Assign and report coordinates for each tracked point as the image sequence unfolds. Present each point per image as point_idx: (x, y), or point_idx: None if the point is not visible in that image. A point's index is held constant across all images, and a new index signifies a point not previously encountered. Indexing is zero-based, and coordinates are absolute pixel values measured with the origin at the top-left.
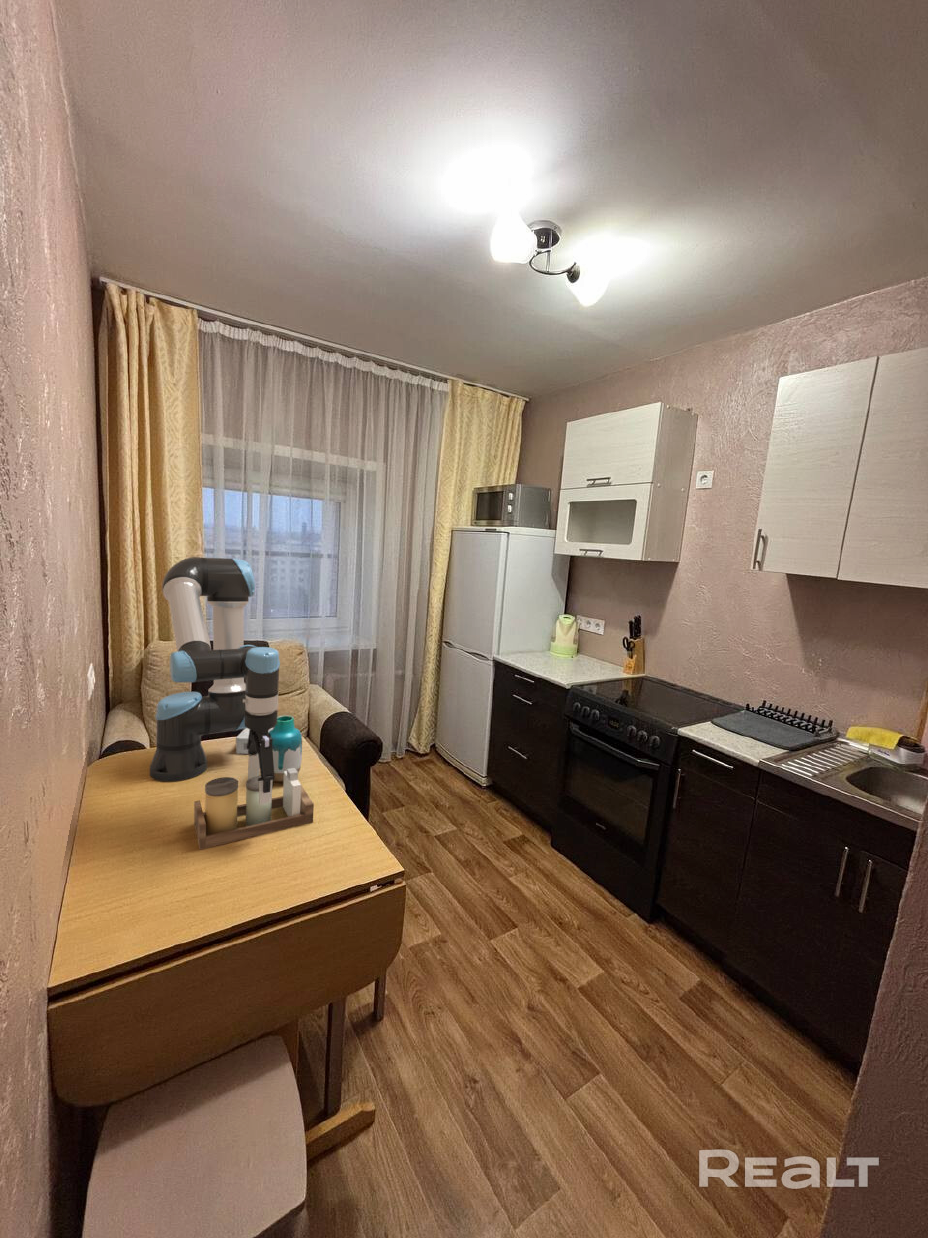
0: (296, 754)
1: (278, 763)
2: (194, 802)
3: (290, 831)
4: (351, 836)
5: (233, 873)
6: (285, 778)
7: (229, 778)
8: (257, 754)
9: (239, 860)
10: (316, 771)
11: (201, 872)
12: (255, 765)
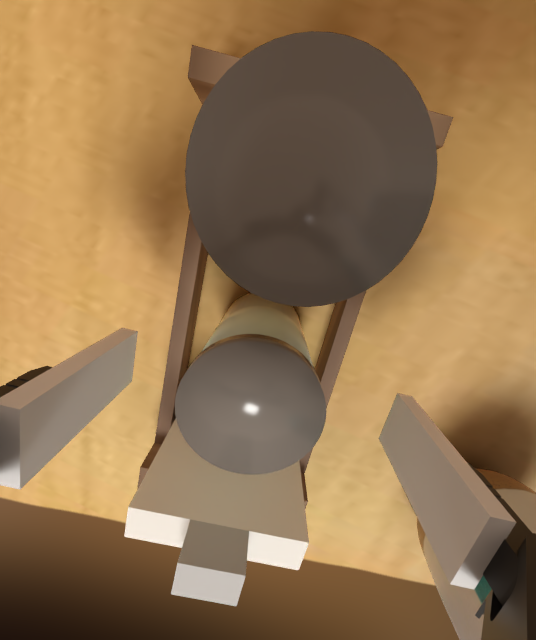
0: (460, 636)
1: None
2: (447, 118)
3: (154, 376)
4: (43, 475)
5: (26, 147)
6: (273, 514)
7: (363, 272)
8: (472, 574)
9: (86, 192)
10: (421, 574)
11: (82, 58)
12: (420, 480)
